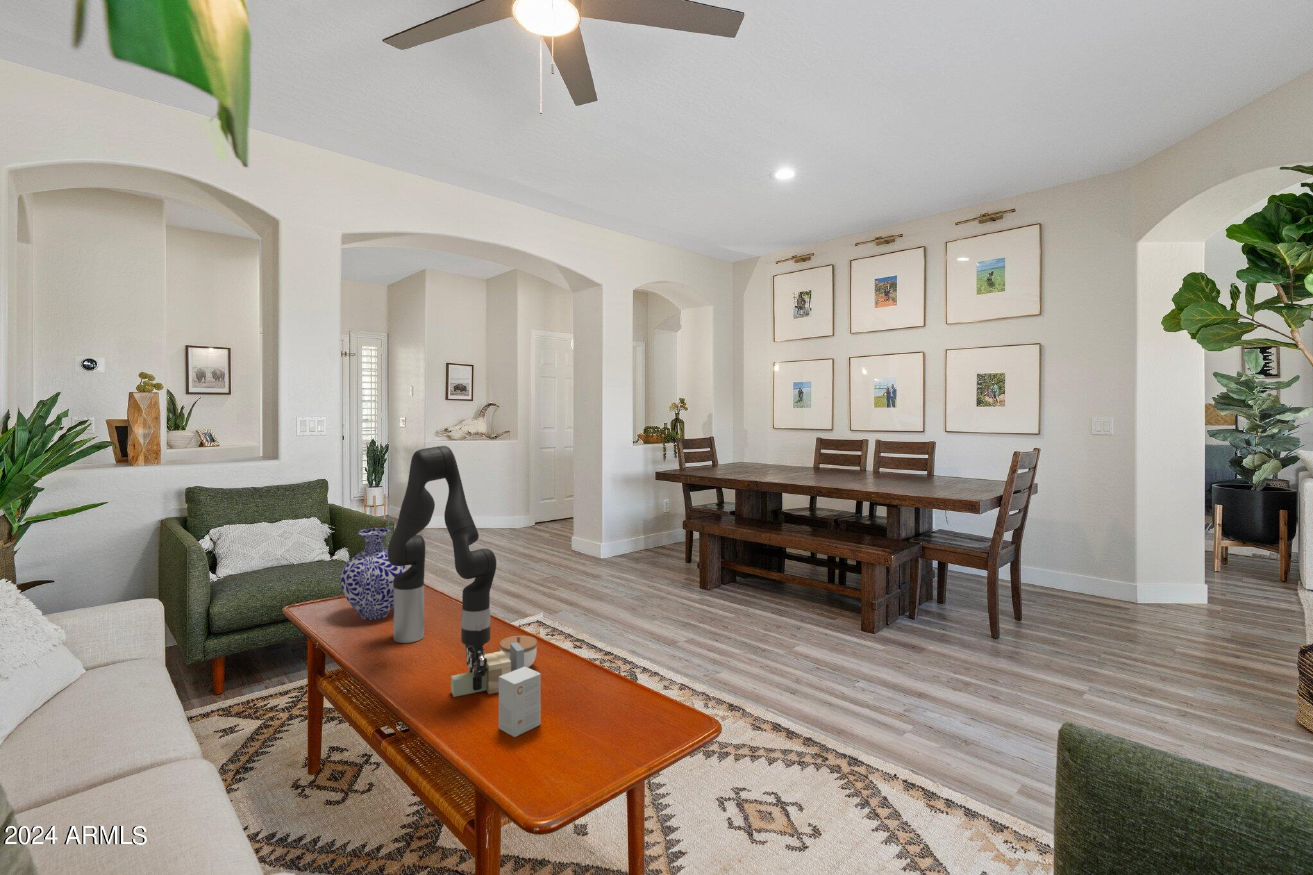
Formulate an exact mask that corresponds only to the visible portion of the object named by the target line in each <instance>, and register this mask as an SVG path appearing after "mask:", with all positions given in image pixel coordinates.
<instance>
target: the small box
mask: <svg viewBox="0 0 1313 875" xmlns="http://www.w3.org/2000/svg"><path fill="white" fill-rule="evenodd" d="M541 691H542V673H540V672H539V671H536V670H534V669H532V668H530V667H529V668H527V667H522V668H520V669H517V670H514V671H512V672H509V673H507V674H504V675H502V676H499V692H498V729H499V730H501V731H502V732H504V733H506V734H508V735H510V736H511V737H513V738H516V737H518V736H520V735H522V734H525V733H526V732H528V731H530V730H532V729H534V728H537V727H538V726H541V724H542V723H541V721H542V720H541V716H542V714H541V712H542V710H541V709H542V708H541V707H542V706H541V705H542V702H541V700H542V697H541V696H542V694H541V693H542V692H541Z"/></svg>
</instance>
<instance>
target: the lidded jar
mask: <svg viewBox="0 0 1313 875" xmlns="http://www.w3.org/2000/svg"><path fill="white" fill-rule="evenodd" d="M516 642H518V644H519V645H520V646H521V647H522V648H523V649H524V667H527V668H530V667H531V666H532V665H533V664H534V661H535V660H536V657H537V651H538V650H537V649H538V639H536V638H535V637H533V636H530V635H513V636H509V637H508V636H507V637H505V638H503V639H502V640H500V642H499V652H500V651H503V652H504V654H505V655H506V656H507V657H508V659H509V660H510V643H516Z"/></svg>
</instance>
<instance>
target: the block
mask: <svg viewBox="0 0 1313 875" xmlns="http://www.w3.org/2000/svg"><path fill="white" fill-rule="evenodd" d="M484 658H486V659H487V663H486V669H487V690H486V692H487V694H488V695H492V694H495V693H496V694H497V693H499V676H502V675H504V674H507V673H509V672H511V661H510V660H509V659H508V657H507V656H506V655H505V654H504V652H503V651H500V650H499V651H495V652H490V653H489V652H488V653H485V656H484Z"/></svg>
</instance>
